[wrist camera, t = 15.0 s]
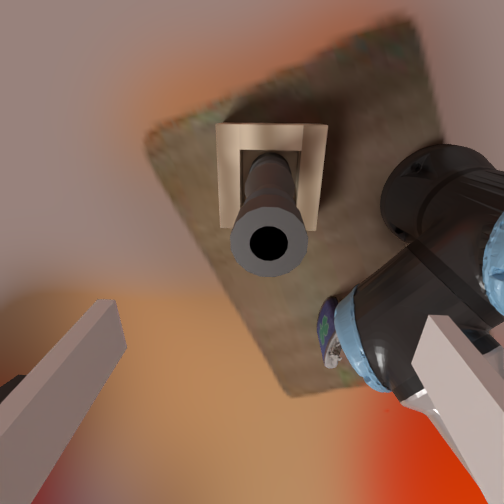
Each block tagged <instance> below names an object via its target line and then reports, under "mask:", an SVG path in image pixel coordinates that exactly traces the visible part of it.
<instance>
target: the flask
mask: <svg viewBox="0 0 504 504" xmlns="http://www.w3.org/2000/svg"><path fill="white" fill-rule="evenodd" d="M337 305H338V301H337V299H336V298H335V297H328V298H327V299H326V300H325V301H324V302H323V305H322V306H321V309H320V312H319V317H318V322H317V334H318V338H319V342H320V347H321V352H322V356H323V361H324V365H325V366H326V367H327V368H334V367H336V366H337V364H338V361H340V360H341V359H342V357H341V358H340V357H339V354H340V352H341V349H342V347H341V344H340V342H339V340H338V337H337V334H336V330H335V325H334V314H335V309H336V307H337Z"/></svg>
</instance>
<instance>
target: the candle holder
mask: <svg viewBox="0 0 504 504" xmlns="http://www.w3.org/2000/svg"><path fill="white" fill-rule="evenodd" d="M294 193H295V184H294V181H293V178H292V173H291V170H290V167H289V164H288V162H287V161H286V159H285V158H284V157H283V156H281V155H279V154H277V153H275V152H266V153H264V154H261V155H259V156H258V157H257V158H256V159H255V160H254V161H253V163H252V165H251V168H250V170H249V173H248V178H247V180H246V183H245V196H246V200H245V202H244V205H243V207H241V208H240V211H239V213H238V215H237V218H236V220H235V223H234V226H233V229H232V232H231V235H230V240H231V251H232V253H233V255H234V257H235V259H236V262H237V263H239V264H240V265H241V266H242V267H243V268H244V269H245V270H246V271H248V272H250V273H253V274H255V275H258V276H262V277H276V276H280V275H283V274H286V273H289V272H290V271H291V270H293V269H294V268H295V267H297V266H298V265H299V264H300V263H301V261H302V259H303V258H304V256H305V254H306V253H307V245H308V236H307V232H306V229H305V225H304V222H303V219H302V216H301V213H300V210H299V209H298V208H297V207H296V204H295V202H294V200H293V197H294Z"/></svg>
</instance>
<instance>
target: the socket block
mask: <svg viewBox="0 0 504 504" xmlns="http://www.w3.org/2000/svg"><path fill="white" fill-rule="evenodd" d="M327 131H328V125H324V124H308V123H229V122H223V123H218V124H216V143H217V167H218V190H219V213H220V228H233V226H234V223H235V220H236V218H237V215H238V213H239V211H240V208H241V207H243V205H244V202H245V200H246V196H245V183H246V180H247V178H248V173H249V170H250V168H251V165H252V163H253V161H254V160H255V159H256V158H257V157H258V156H259V155H261V154H264V153H266V152H275V153H277V154H279V155H281V156H283V157H284V158H285V159H286V161H287V162H288V164H289V167H290V170H291V173H292V178H293V181H294V184H295V193H294V197H293V200H294V202H295V204H296V207H297V208H298V209H299V210H300V213H301V216H302V219H303V222H304V225H305V229H306V231H316V224H317V216H318V207H319V199H320V190H321V182H322V173H323V165H324V156H325V148H326V139H327Z"/></svg>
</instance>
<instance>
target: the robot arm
mask: <svg viewBox="0 0 504 504" xmlns="http://www.w3.org/2000/svg"><path fill="white" fill-rule="evenodd" d="M380 209H381V214H382V218H383V220H384V222H385V224H386V225H387V227H388V228H389V229H390V230H391V231H392V232H393V233H394V234H395V235H396V236H397V237H398V238H400V239H401V240H403V241H405V242H407V243H409V245H408V246H407V247H405V248H404V249H403V250H402V251H400V252H399V253H398V254H397V255H395V256H394V257H393V258H392V259H391V260H389V261H388V262H387V263H386V264H384V265H383V266H382V267H381V268H380V269H378V270H377V271H376V272H375V273H373V274H372V275H371V276H370V277H368V278H367V279H366V280H364V281H363V282H362V283H361V284H358V285H356V286H355V287H354V288H353V290H352V291H351V292H350V293H349V294H348V295H347V296H346V297H345V298H344V299H343V300H341V301H340V302H339V304H338V305H337V307H336V309H335V314H334V325H335V330H336V334H337V337H338V340H339V342H340V344H341V347H342V349H343V351H344V353H345V355H346V357H347V358H348V360H349V362H350V363H351V365H352V366H353V368H354V369H355V371H356V372H357V373H358V374H359V376H363V378H364V380H365V382H366V383H367V384H368V385H369V386H370V387H371V388H373V389H374V390H376V391H379V392H391V391H392V392H393V393H394V394H395V396H396V397H397V399H398V400H399V402H400V403H401V404H402V405H403V406H405V407H408V408H411V409H414V410H417V411H420V412H422V413H424V414H425V415H427V416H428V417H429V419H430V420H431V422H432V423H433V424H434V426H435V427H436V428H437V430H438V431H439V433H440V434H441V435H442V437H443V438H444V439H445V441H446V442H447V443H448V445H449V446H450V448H451V449H452V450H453V452H454V453H455V454H456V456H457V457H458V458H459V460H460V461H461V463H462V464H463V465H464V467H465V468H466V469H467V471H468V472H469V474H470V475H471V476H472V478H473V479H474V480H475V482H476V483H477V484H478V486H479V487H480V489H481V491H482V493H483V495H484V497H485V498H486V500H487V502H488V504H504V348H503V347H502V346H501V345H500V344H499V343H498V342H497V341H496V340H495V339H494V338H493V337H492V336H491V335H490V334H489V332H488V331H489V330H491V329H492V328H494V327H495V326H497V325H499V324H500V323H502V322H504V172H503V171H498V170H496V169H495V168H494V167H493V166H492V164H491V163H489V162H488V160H487V159H486V158H485V157H484V156H483V155H481V154H480V153H478V152H476V151H475V150H472V149H470V148H467V147H462V146H457V145H451V144H441V145H434V146H430V147H427V148H424V149H421V150H419V151H417V152H415V153H414V154H412V155H410V156H409V157H407V158H406V159H405V160H404V161H402V162H401V163H400V164H399V165H398V166H397V167H396V168H395V169H394V171H393V172H392V173H391V175H390V176H389V178H388V179H387V181H386V183H385V185H384V188H383V191H382V195H381V201H380ZM126 349H127V345H126V341H125V337H124V333H123V329H122V325H121V321H120V317H119V313H118V309H117V305H116V301H115V300H107V299H105V300H104V299H98V300H97V301H96V302H95V303H94V304H93V305H92V306H91V307H90V308H89V309H88V310H87V312H86V313H85V314H84V315H83V316H82V317H81V318H80V319H79V320H78V321H77V322H76V323H75V324H74V325H73V327H72V328H71V329H70V330H69V331H68V332H67V333H66V334H65V335H64V336H63V337H62V338H61V340H60V341H59V342H58V343H57V344H56V345H55V346H54V347H53V348H52V349H51V350H50V351H49V352H48V353H47V354H46V355H45V357H44V358H43V359H42V360H41V361H40V362H39V363H38V364H37V365H36V366H35V368H34V369H33V370H32V371H31V372H30V373H29V374H28V375H17V376H16V377H14V378H13V379H12V380H10V381H9V382H7V383H6V384H4V385H3V386H1V387H0V504H31V503H32V501H33V499H34V498H35V496H36V494H37V493H38V491H39V489H40V488H41V486H42V485H43V483H44V481H45V480H46V478H47V476H48V475H49V473H50V472H51V470H52V468H53V467H54V465H55V464H56V462H57V460H58V459H59V457H60V456H61V454H62V452H63V451H64V449H65V447H66V446H67V444H68V443H69V441H70V439H71V438H72V436H73V434H74V433H75V431H76V430H77V428H78V426H79V425H80V423H81V421H82V420H83V418H84V417H85V415H86V413H87V412H88V410H89V408H90V407H91V405H92V404H93V402H94V400H95V399H96V397H97V395H98V394H99V392H100V391H101V389H102V387H103V386H104V384H105V383H106V381H107V379H108V378H109V376H110V375H111V373H112V371H113V370H114V368H115V366H116V365H117V363H118V362H119V360H120V358H121V357H122V355H123V353H124V352H125V350H126Z"/></svg>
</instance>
